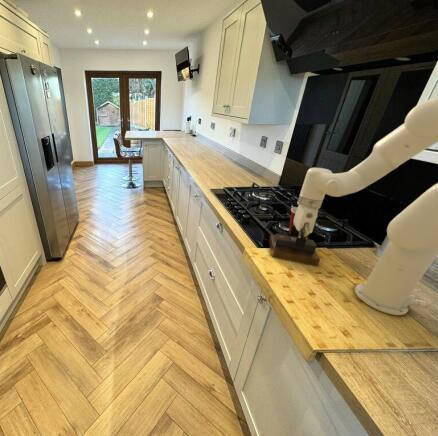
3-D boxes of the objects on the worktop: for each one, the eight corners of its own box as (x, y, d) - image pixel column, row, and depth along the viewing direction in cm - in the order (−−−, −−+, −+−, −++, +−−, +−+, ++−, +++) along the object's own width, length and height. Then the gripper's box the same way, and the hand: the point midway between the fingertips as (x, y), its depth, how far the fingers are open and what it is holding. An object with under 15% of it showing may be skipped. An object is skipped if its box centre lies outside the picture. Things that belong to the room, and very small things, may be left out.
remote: (311, 246, 97) (313, 239, 96) (314, 252, 93) (316, 246, 92) (273, 239, 101) (275, 233, 100) (275, 245, 97) (277, 238, 96)
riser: (308, 247, 102) (311, 241, 101) (317, 266, 90) (320, 259, 89) (268, 240, 107) (270, 234, 105) (272, 256, 95) (274, 250, 93)
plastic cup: (312, 242, 106) (321, 218, 101) (285, 237, 109) (293, 214, 104) (305, 231, 115) (314, 209, 110) (281, 227, 118) (288, 205, 113)
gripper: (328, 211, 80) (312, 253, 87) (315, 195, 94) (301, 233, 102) (303, 208, 82) (289, 249, 89) (294, 193, 97) (282, 229, 104)
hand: (296, 240), depth 96 cm, fingers open, 9 cm apart
